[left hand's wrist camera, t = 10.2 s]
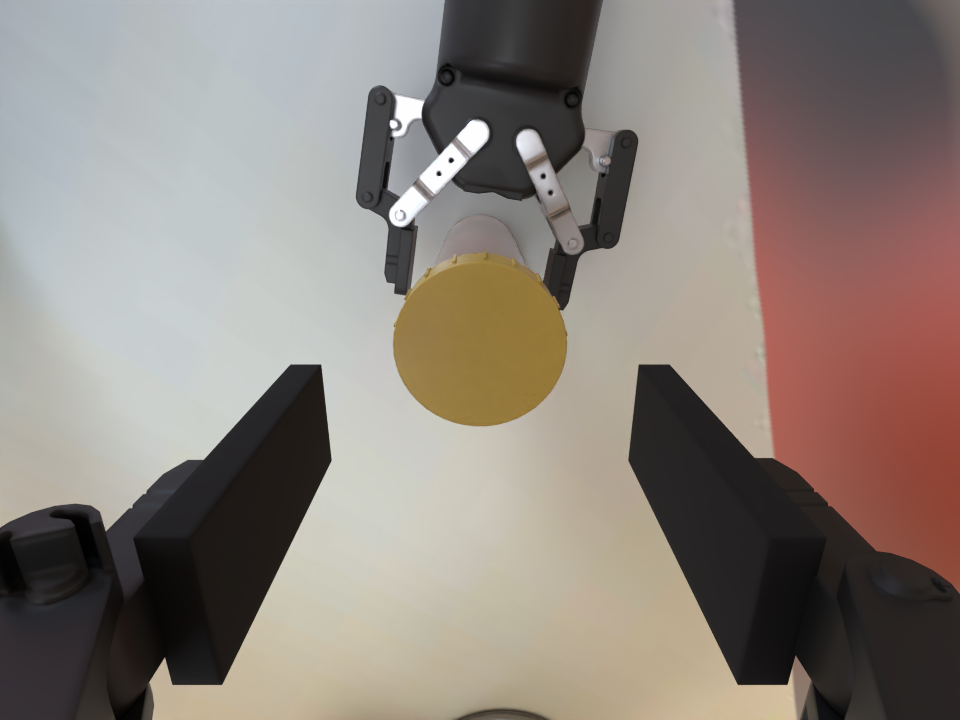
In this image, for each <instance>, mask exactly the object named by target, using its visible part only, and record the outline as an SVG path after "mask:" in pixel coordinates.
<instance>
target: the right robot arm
mask: <svg viewBox="0 0 960 720" xmlns="http://www.w3.org/2000/svg"><path fill="white" fill-rule="evenodd" d="M602 2H603V0H445V5H444V13H443V22H442V30H441V39H440V47H439V56H438V64H437V73H436V79H435V83H434V86H433V88H432V90H431V92H430V94H429V95H428V97H427V98H426V100H422V99H418V98H413V97H409V96H405V95H400V94H396V93H393V92H392V91H390V90H389V89H388V88H386V87H384V86H375V87H373V88H372V89H371V91H370V92H369V96H368V104H367V112H366V120H365V127H364V135H363V143H362V151H361V159H360V167H359V175H358V183H357V191H356V200H357V202H358V204H359V205H360V206H361V207H362V208H365V209H369V210H371V211H373V212H375V213H377V214H378V215H380V216H382V217H383V218H384V219H385V220H386V222H387V224H388V228H389V232H388V242H387V252H386V263H385V272H384V273H385V277H386V280H387V282H388V283H395V290H394V293H395V294H399V295H406V294H407V293H408V291H409V289H410V287H411V281H412V273H413V264H414V256H415V247H416V238H417V230H418V226H415V225H414V222H415V217H416V216H417V215H418V214H419V213H420V212H421V211H422V210H423V209H424V208H425V207H426V206H427V204H428V203H429V202H430V201H431V200H432V199H433V198H434V197H435V196H436V195H437V194H438V193H439V192H440V191H441V190H442V189H443V188H444V187H445V186H446V185H447V184H448V183H449V181H450V180H452V181H453V183H454V184H455V185H457V186H458V187H459V188H461V189H463V190H464V191H466V192H472V193H487V192H495V193H497V194H499V195H501V196H503V197H505V198H508V199H514V200H520V201H522V199H527V198H530V197H532V196H534V195H535V197H536V199H537V202H538V204H539V206H540V208H541V210H542V212H543V214H544V216H545V218H546V220H547V222H548V224H549V226H550V228H551V231H552V233H553V235H554V237H555V239H556V242H555V247H554V249H552V248H550V251H549V256H548V261H547V265H546V270H545V275H544V280H543V283H544V284H545V286H546V287H547V288H548V290H549V292H550V294H551V296H552V297H553V296H555V298H556V300H557V302H558V304H559V306H560V308H559V310H564V308H565V307H566V305H567V304H568V302H569V297H570V292H571V288H572V284H573V279H574V275H575V271H576V266H577V262H578V259H579V257H580V256H581V255H582V254H583V253H584V252H586V251H589V250H594V249H599V248H605V249H610V248H613V247H614V246H615V245H616V244H617V243H618V241H619V237H620V232H621V227H622V222H623V217H624V212H625V207H626V202H627V197H628V192H629V187H630V181H631V176H632V171H633V166H634V161H635V156H636V151H637V146H638V138H637V135H636V134H635V133H634V132H633V131H631V130H619V131H615V132H612V131H603V130H595V129H587V128H585V127H584V124H583V120H582V114H581V106H582V99H583V94H584V90H585V85H586V80H587V75H588V70H589V65H590V60H591V55H592V50H593V46H594V41H595V36H596V31H597V26H598V21H599V16H600V11H601V6H602ZM417 120H422V122H423V125H424V127H425V129H426V131H427V133H428V135H429V137H430V139H431V141H432V143H433V145H434V147H435V149H436V151H437V153H438V155H439V156H438V157H437V158H436V160H435V161H434V162H433V163H432V164H431V165H430V166H429V167H428V168H427V169H426V170H425V171H424V172H423V173H422V175H421V176H420V177H419V178H418V179H417V180H416V181H415V183H414V184H413V185H412V186H411V187H410V188H409V189H408V190H407V191H406V192H405V194H404V195H403V196H402V197H399V196H397V195H396V194H394V193H392V192H390V191H389V190H387V188H388V181H389V174H390V167H391V160H392V153H393V146H394V139H395V138H402V137H404V136H406V135H407V133H408V131H409V128H410V126H411V124H412V123H413V122H415V121H417ZM581 148H583V149H585V150H586V151H587V152H588V154H589V164H590V167H591V169H592V170H593V171H595V172H598V173H599V176H598V181H597V187H596V193H595V198H594V204H593V210H592V215H591V221H590V224H587V225H582V226H577V223H576V221H575V219H574V217H573V214H572V212H571V209H570V206H569V203H568V201H567V198H566V196H565V194H564V192H563V189H562V187H561V185H560V183H559V181H558V178H557V176H556V174H557V173H558V172H559V171H560V170H561V169H562V168H563V167H564V166H565V165H566V164H567V163H568V162H569V161H570V160H571V159H572V158H573V157H574V156H575V155H576V154H577V153H578V152H579V151H580V149H581Z"/></svg>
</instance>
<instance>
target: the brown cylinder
mask: <svg viewBox="0 0 960 720" xmlns="http://www.w3.org/2000/svg"><path fill="white" fill-rule="evenodd" d="M483 251H486V253H489V254H496V255H500V256H504V257H507V258H510V259H512V257H513V258H515V259H516V261H517V262H519V263H520V264H522V265H524V266H525V263H524V261H523V258H522V256H521V254H520V251H519V249H518V246H517V244H516V242H515V239H514V237H513V235H512V233H511V231H510V230H509V229H508V227H507V226H506V225H505V224H503V223H502V222H501V221H499V220H498V219H496V218H493V217H490V216H486V215H474V216H470V217H467V218H464V219H462V220H461V221H459V222H458V223H457V224H455V225H454V226H453V227H452V229H451V230H450V231H449V233H448V235H447V237H446V239H445V241H444V244H443V246H442V249H441V251H440V253H439V256H438V258H437V261H436V263H435V265H434V267H435V266H436V265H438V264H440V263H441V262H443V261H446V260H448V259H450V258H453V256H454V255H455V254H457V256H460V255H464V254H471V253H483Z"/></svg>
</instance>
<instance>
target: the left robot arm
mask: <svg viewBox="0 0 960 720" xmlns="http://www.w3.org/2000/svg"><path fill="white" fill-rule="evenodd" d="M331 461H332V460H331V450H330V441H329V432H328V423H327V414H326V405H325V395H324V386H323V377H322V368H321V365H290V366H289V367H288V368H287V369H286V370H285V371H284V372H283V374H282V375H281V376H280V377H279V378H278V379H277V380H276V381H275V382H274V383H273V385H272V386H271V387H270V388H269V389H268V390H267V391H266V392H265V393H264V394H263V395H262V397H261V398H260V399H259V400H258V401H257V402H256V403H255V404H254V405H253V406H252V408H251V409H250V410H249V411H248V412H247V413H246V414H245V415H244V416H243V417H242V419H241V420H240V421H239V422H238V423H237V424H236V425H235V426H234V427H233V428H232V430H231V431H230V432H229V433H228V434H227V435H226V436H225V437H224V438H223V439H222V441H221V442H220V443H219V444H218V445H217V446H216V447H215V448H214V449H213V450H212V452H211V453H210V454H209V455H208V456H207V457H206V458H205V459H204V460H187V461H185V462H184V463H182V464H180V465H178V466H177V467H175V468H173V469H171V470H170V471H168V472H166V473H165V474H163V475H162V476H161V477H160V478H159V479H158V480H157V481H156V482H155V483H154V484H153V485H152V486H151V487H150V488H149V489H148V490H147V493H146V494H143V495H142V496H141V497H140V498H139V499H138V500H137V501H136V502H135V503H134V504H133V508H129V509H128V510H127V511H126V512H125V513H124V514H123V515H122V516H121V517H120V518H119V519H118V520H117V521H116V522H115V523H114V524H113V525H112V526H111V527H110V528H109V529H108V530H107V531H105V528H104V524H103V521H102V517H101V514H100V512H99V511H98V510H96V509H95V508H94V507H92V506H89V505H81V504H69V505H59V506H53V507H49V508H46V509H42V510H39V511H35V512H31V513H29V514H27V515H24V516H22V517H20V518H18V519H15V520H13V521H11V522H9V523H7V524H5V525H4V526H2V527H1V528H0V720H152V716H153V709H154V702H153V694H152V690H151V686H150V683H149V682H150V680H151V678H152V677H153V675H154V674H155V672H156V670H157V669H158V667H159V666H160V664H161V662H162V661H163V659H164V658H165V659H166V662H167V666H168V670H169V674H170V677H171V681H172V685H222V684H223V682H224V680H225V678H226V676H227V674H228V672H229V670H230V668H231V666H232V664H233V662H234V659H235V657H236V655H237V653H238V651H239V649H240V647H241V645H242V643H243V641H244V639H245V637H246V635H247V633H248V631H249V629H250V627H251V625H252V623H253V621H254V618H255V616H256V614H257V612H258V610H259V608H260V606H261V604H262V602H263V600H264V598H265V596H266V594H267V592H268V590H269V588H270V586H271V584H272V582H273V580H274V578H275V575H276V573H277V571H278V569H279V567H280V565H281V563H282V561H283V559H284V557H285V555H286V553H287V551H288V549H289V547H290V545H291V543H292V541H293V539H294V537H295V534H296V532H297V530H298V528H299V526H300V524H301V522H302V520H303V518H304V516H305V514H306V512H307V510H308V508H309V506H310V504H311V502H312V500H313V498H314V496H315V493H316V491H317V489H318V487H319V485H320V483H321V481H322V479H323V477H324V475H325V473H326V471H327V469H328V467H329V465H330V463H331ZM628 461H629V463H630V465H631V467H632V469H633V471H634V473H635V475H636V477H637V479H638V481H639V483H640V485H641V487H642V489H643V491H644V493H645V496H646V498H647V500H648V502H649V504H650V506H651V508H652V510H653V512H654V514H655V516H656V518H657V520H658V522H659V524H660V526H661V528H662V530H663V532H664V534H665V537H666V539H667V541H668V543H669V545H670V547H671V549H672V551H673V553H674V555H675V557H676V559H677V561H678V563H679V565H680V567H681V569H682V571H683V573H684V575H685V578H686V580H687V582H688V584H689V586H690V588H691V590H692V592H693V594H694V596H695V598H696V600H697V602H698V604H699V606H700V608H701V610H702V612H703V614H704V616H705V618H706V621H707V623H708V625H709V627H710V629H711V631H712V633H713V635H714V637H715V639H716V641H717V643H718V645H719V647H720V649H721V651H722V653H723V655H724V657H725V659H726V662H727V664H728V666H729V668H730V670H731V672H732V674H733V676H734V678H735V680H736V682H737V684H738V685H788V681H789V677H790V674H791V670H792V666H793V662H794V659H795V655H796V656H797V658H798V660H799V661H800V663H801V664H802V666H803V667H804V669H805V670H806V672H807V674H808V675H809V677H810V678H811V683H810V686H809V690H808V693H807V697H806V700H805V704H804V707H803V711H802V714H801V718H800V720H960V594H959V593H958V591H957V590H956V589H955V588H954V587H953V585H952V584H951V583H949V582H948V581H947V580H945V579H944V578H943V577H941V576H940V575H939V574H937V573H936V572H934V571H933V570H931V569H929V568H927V567H925V566H923V565H921V564H919V563H917V562H915V561H913V560H911V559H907V558H904V557H901V556H898V555H895V554H892V553H886V552H878V551H876V550H875V549H874V548H873V547H872V546H871V545H870V544H869V543H868V542H867V541H866V540H865V539H864V538H863V537H862V536H861V535H860V534H859V533H858V532H857V531H856V530H855V529H853V527H852V526H851V525H849V523H848V522H847V521H846V520H844V518H843V517H842V516H841V515H840V514H839V513H838V512H837V511H835V510H834V509H833V508H832V507H831V506H828V503H827V502H826V501H825V500H824V499H823V498H822V497H821V496H820V495H819V494H818V493H817V492H814V489H813V488H812V487H811V486H810V485H809V484H808V483H807V482H806V481H805V480H804V479H803V478H802V477H801V476H800V475H799V474H798V473H797V472H796V471H794V470H792V469H791V468H789V467H787V466H785V465H783V464H782V463H780V462H778V461H777V460H775V459H773V458H754V457H753V456H752V455H751V454H750V453H749V452H748V450H747V449H746V448H745V447H744V446H743V445H742V444H741V443H740V442H739V441H738V439H737V438H736V437H735V436H734V435H733V434H732V433H731V432H730V431H729V430H728V428H727V427H726V426H725V425H724V424H723V423H722V422H721V421H720V420H719V419H718V417H717V416H716V415H715V414H714V413H713V412H712V411H711V410H710V409H709V408H708V406H707V405H706V404H705V403H704V402H703V401H702V400H701V399H700V398H699V397H698V395H697V394H696V393H695V392H694V391H693V390H692V389H691V388H690V387H689V386H688V385H687V383H686V382H685V381H684V380H683V379H682V378H681V377H680V376H679V375H678V374H677V372H676V371H675V370H674V369H673V368H672V367H671V366H670V365H639V368H638V377H637V386H636V395H635V405H634V414H633V423H632V432H631V441H630V450H629V460H628ZM460 720H545V719H543V718H540V717H538V716H535V715H531V714H528V713H523V712H516V711H488V712H482V713H478V714H473V715H470V716H467V717H465V718H462V719H460Z"/></svg>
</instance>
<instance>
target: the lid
mask: <svg viewBox="0 0 960 720" xmlns="http://www.w3.org/2000/svg"><path fill="white" fill-rule="evenodd" d="M404 300H406V301H405V303H404V305H403V307H402V309H401V311H400V313H399V316H398V318H397V320H396V322H395V324H394V327H395V330H394V339H393V349H394V358H395V362H396V366H397V369H398V372H399V375H400V377H401V379H402V381H403V383H404V385H405V386H406V388H407V389H408V390H409V392H410V393H411V394H412V396H413V397H414V398H415V399H416V400H417V401H418V402H419V403H420V404H421V405H423V406H424V407H425V408H426V409H428V410H429V411H431V412H432V413H434V414H435V415H437V416H439V417H441V418H443V419H446V420H449V421H451V422H454V423H458V424H463V425H469V426H491V425H498V424H502V423H506V422H509V421H512V420H514V419H517V418H519V417H521V416H523V415H525V414H526V413H528V412H529V411H531V410H532V409H534V408H535V407H536V406H537V405H539V404H540V403H541V402H542V401H543V400H544V399H545V398H546V397H547V396H548V394H549V393H550V392H551V391H552V389H553V388H554V386H555V385H556V383H557V381H558V379H559V377H560V375H561V372H562V369H563V366H564V363H565V358H566V350H567V338H566V336H567V332H566V330H565V326H564V321H563V319H562V316H561V313H560V311H559V308H560V306H559V304H558V302H557V300H556V298H555V296H553V297H552V296H551V294H550V292H549V290H548V288H547V287H546V286H545V284H544V283H543V281H542V279H541V277H540V275H539V274H538V273H537V274H535V273H533V272H532V271H531V270H529V269H528V268H527V267H526V266H524V265H522V264H520V263H519V262H517V261H516V259H515V258H513V257H512V259H510V258H507V257H504V256H500V255H496V254H489V253H486V251H483V253H471V254H464V255H460V256H457V254H455V255H454V256H453V258H450V259H448V260H446V261H443V262H441V263H440V264H438V265H436V266H435V267H433V268H432V269H431V268H430V267H429V268H428V269H427V271H426V274H424V275H423V276H422V278H421V279H420V280H419V281H418V282H417V283H416V284H415V286H414V287H413V289H411V288H410V289H409V291H408V293H407V294H406V296H405V298H404Z"/></svg>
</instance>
